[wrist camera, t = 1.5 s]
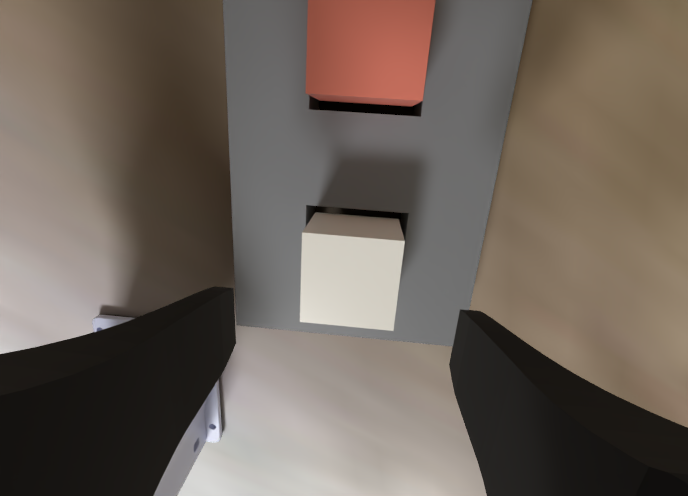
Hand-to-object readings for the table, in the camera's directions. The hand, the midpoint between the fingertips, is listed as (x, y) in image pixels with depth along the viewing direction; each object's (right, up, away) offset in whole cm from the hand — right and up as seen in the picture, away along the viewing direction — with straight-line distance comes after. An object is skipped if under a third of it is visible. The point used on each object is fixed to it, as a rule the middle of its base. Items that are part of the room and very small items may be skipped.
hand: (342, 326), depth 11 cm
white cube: (0, +2, +6) cm, 7 cm away
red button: (+1, +11, +3) cm, 11 cm away
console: (+1, +7, +7) cm, 10 cm away
